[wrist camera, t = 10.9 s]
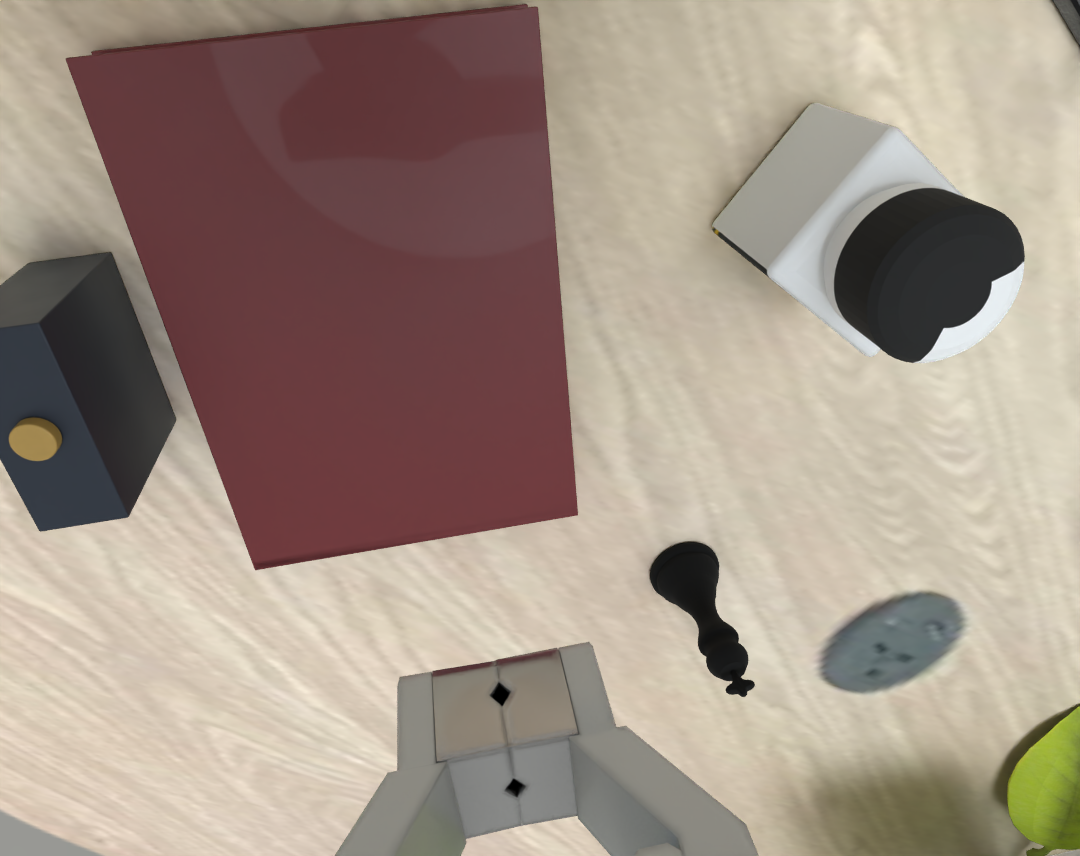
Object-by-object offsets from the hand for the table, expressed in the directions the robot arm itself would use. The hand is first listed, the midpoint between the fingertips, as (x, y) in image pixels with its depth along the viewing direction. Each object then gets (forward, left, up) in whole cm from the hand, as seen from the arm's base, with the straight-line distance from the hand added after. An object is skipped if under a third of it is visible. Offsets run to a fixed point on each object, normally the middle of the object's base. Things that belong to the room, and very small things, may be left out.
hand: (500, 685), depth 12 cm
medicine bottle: (+2, +18, -27) cm, 33 cm away
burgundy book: (+4, -3, -27) cm, 28 cm away
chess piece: (+24, +12, -27) cm, 38 cm away
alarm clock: (+4, -16, -23) cm, 28 cm away
